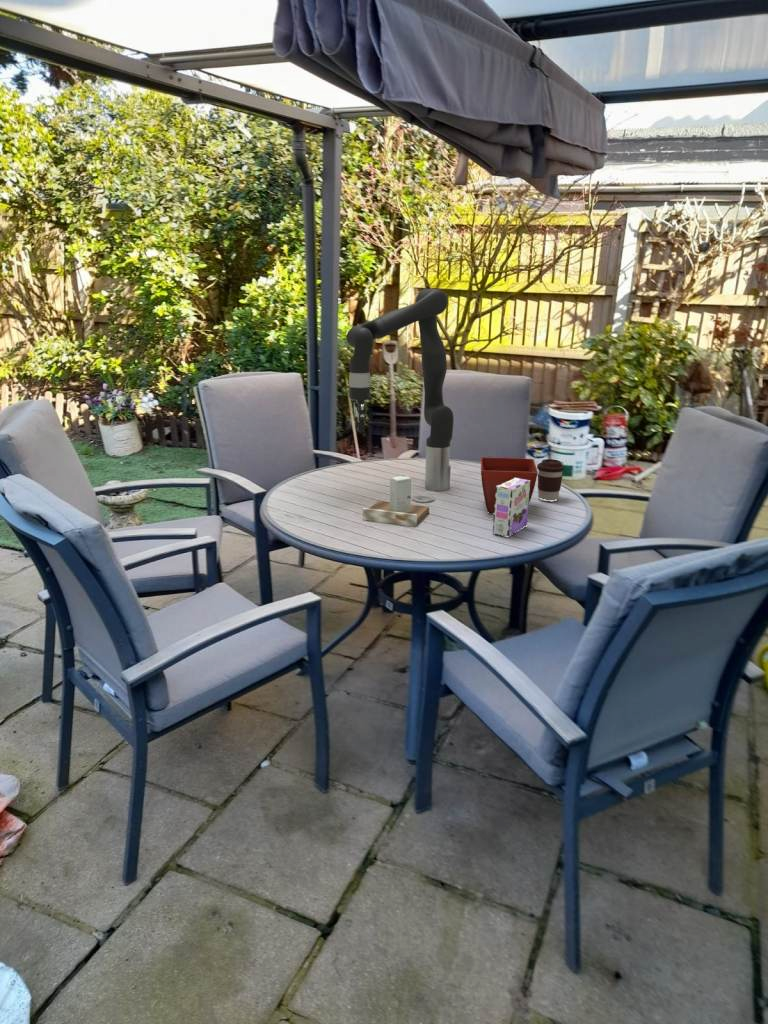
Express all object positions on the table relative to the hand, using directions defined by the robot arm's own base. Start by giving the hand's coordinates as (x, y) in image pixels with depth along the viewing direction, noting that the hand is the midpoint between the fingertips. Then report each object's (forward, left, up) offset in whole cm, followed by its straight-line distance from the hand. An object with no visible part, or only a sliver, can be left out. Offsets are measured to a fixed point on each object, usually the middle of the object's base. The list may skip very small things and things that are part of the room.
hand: (359, 430), depth 244 cm
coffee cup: (-70, +11, -26) cm, 76 cm away
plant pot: (-50, +20, -26) cm, 60 cm away
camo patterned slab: (-10, +22, -26) cm, 36 cm away
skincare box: (-10, +25, -24) cm, 36 cm away
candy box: (-44, +42, -26) cm, 66 cm away
